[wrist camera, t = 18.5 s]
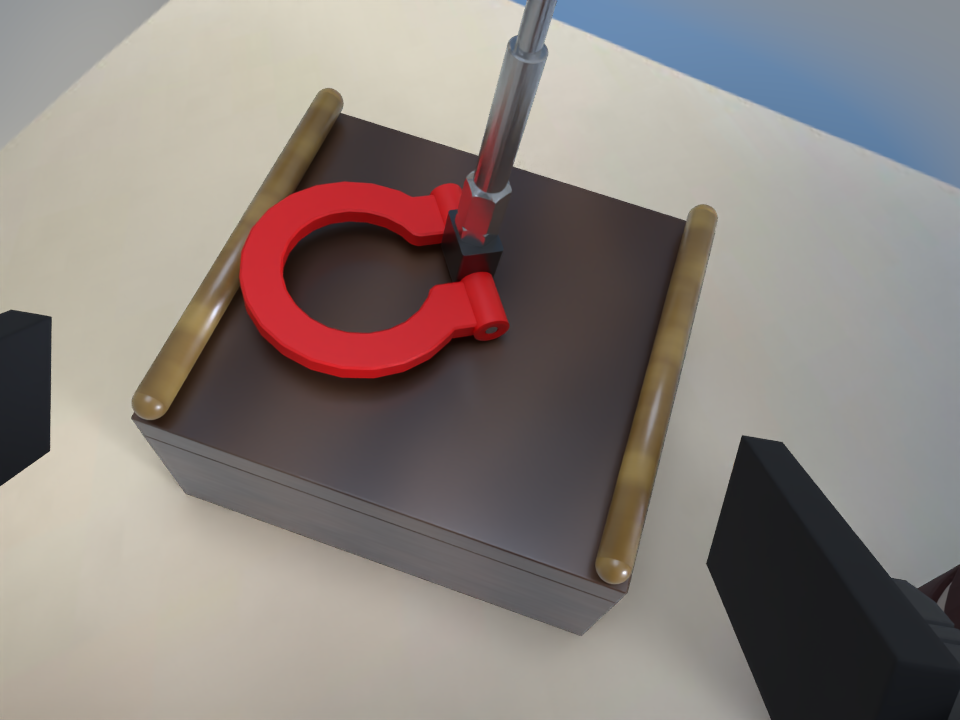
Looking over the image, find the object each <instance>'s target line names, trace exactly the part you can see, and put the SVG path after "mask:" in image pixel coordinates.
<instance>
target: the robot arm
mask: <svg viewBox="0 0 960 720" xmlns="http://www.w3.org/2000/svg"><path fill="white" fill-rule="evenodd" d="M51 326H52V317H51V316H45V315H39V314H33V313H27V312H21V311H16V310H9V311H7V312H4V313H1V314H0V486H1V485H3V484H4V483H6V482H7V481H8V480H10V479H11V478H13V477H14V476H15V475H17V474H18V473H20V472H21V471H22V470H24V469H25V468H27V467H28V466H29V465H31V464H32V463H34V462H35V461H36V460H38V459H39V458H41V457H42V456H44V455H45V454H46V453H48V452H49V451H50V410H51ZM706 564H707V566H708V568H709V571H710V573H711V576H712V578H713V581H714V583H715V585H716V588H717V590H718V593H719V595H720V597H721V600H722V602H723V605H724V607H725V609H726V612H727V614H728V617H729V619H730V621H731V624H732V626H733V629H734V631H735V634H736V636H737V638H738V641H739V643H740V646H741V648H742V650H743V653H744V655H745V658H746V660H747V662H748V665H749V667H750V670H751V672H752V675H753V677H754V679H755V682H756V684H757V687H758V689H759V691H760V694H761V696H762V699H763V701H764V703H765V706H766V708H767V711H768V713H769V715H770V718H771V720H960V630H959V629H956V628H954V625H955V624H954V623H953V622H952V621H951V620H950V618H949V617H948V616H947V615H946V614H945V613H944V611H943V610H942V609H941V608H940V607H939V606H938V604H937V603H936V602H935V601H933V600H932V599H931V598H929V597H928V596H926V595H925V594H924V593H922V592H921V591H920V590H918V589H917V588H915V587H914V586H913V585H911V584H910V583H908V582H907V581H906V580H901V579H895V578H891V577H890V576H889V575H888V573H887V572H886V571H885V570H884V568H883V567H882V566H881V565H880V563H879V562H878V561H877V560H876V558H875V557H874V556H873V555H872V553H871V552H870V551H869V550H868V548H867V547H866V546H865V545H864V543H863V542H862V541H861V540H860V538H859V537H858V536H857V535H856V533H855V532H854V531H853V530H852V528H851V527H850V526H849V525H848V523H847V522H846V521H845V520H844V519H843V517H842V516H841V515H840V514H839V512H838V511H837V510H836V509H835V507H834V506H833V505H832V504H831V502H830V501H829V500H828V499H827V497H826V496H825V495H824V494H823V492H822V491H821V490H820V489H819V487H818V486H817V485H816V484H815V482H814V481H813V480H812V479H811V477H810V476H809V475H808V474H807V472H806V471H805V470H804V469H803V467H802V466H801V465H800V464H799V462H798V461H797V460H796V459H795V457H794V456H793V455H792V454H791V452H790V451H789V450H788V449H787V447H786V446H785V445H784V444H783V442H779V441H773V440H767V439H761V438H755V437H749V436H744V435H742V437H741V441H740V444H739V448H738V452H737V455H736V459H735V462H734V466H733V470H732V473H731V477H730V480H729V484H728V488H727V491H726V495H725V498H724V502H723V505H722V509H721V513H720V516H719V520H718V523H717V527H716V531H715V534H714V538H713V541H712V545H711V549H710V552H709V556H708V559H707V563H706Z"/></svg>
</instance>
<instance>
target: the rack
mask: <svg viewBox="0 0 960 720" xmlns="http://www.w3.org/2000/svg"><path fill="white" fill-rule="evenodd" d="M342 109H343V99H342V96H341V95H340V93H339V92H338V91H336V90H334V89H332V88H325V89H322V90H321V91H319V92H318V94H317V95H316V97H315V98H314V100H313V102H312V103H311V105H310V107H309V108H308V110H307V111H306V113H305V115H304V116H303V118H302V120H301V121H300V123H299V125H298V126H297V128H296V129H295V131H294V133H293V134H292V136H291V138H290V139H289V141H288V143H287V144H286V146H285V147H284V149H283V151H282V152H281V154H280V156H279V157H278V159H277V161H276V162H275V164H274V166H273V167H272V169H271V170H270V172H269V174H268V175H267V177H266V179H265V180H264V182H263V184H262V185H261V187H260V188H259V190H258V192H257V193H256V195H255V197H254V198H253V200H252V202H251V203H250V205H249V206H248V208H247V210H246V211H245V213H244V215H243V216H242V218H241V220H240V221H239V223H238V225H237V226H236V228H235V229H234V231H233V233H232V234H231V236H230V238H229V239H228V241H227V243H226V244H225V246H224V247H223V249H222V251H221V252H220V254H219V256H218V257H217V259H216V261H215V262H214V264H213V266H212V267H211V269H210V270H209V272H208V274H207V275H206V277H205V279H204V280H203V282H202V284H201V285H200V287H199V288H198V290H197V292H196V293H195V295H194V297H193V298H192V300H191V302H190V303H189V305H188V306H187V308H186V310H185V311H184V313H183V315H182V316H181V318H180V320H179V321H178V323H177V325H176V326H175V328H174V329H173V331H172V333H171V334H170V336H169V338H168V339H167V341H166V343H165V344H164V346H163V347H162V349H161V351H160V352H159V354H158V356H157V357H156V359H155V361H154V362H153V364H152V365H151V367H150V369H149V370H148V372H147V374H146V375H145V377H144V379H143V380H142V382H141V384H140V385H139V387H138V388H137V390H136V392H135V393H134V395H133V398H132V408H133V410H134V414H133V415H132V417H131V419H132V420H133V422H134V423H135V424H136V426H137V427H138V429H139V430H140V431H141V433H142V434H143V436H144V437H145V438H146V440H147V441H148V443H149V444H150V445H151V447H152V448H153V449H154V451H155V452H156V454H157V455H158V456H159V458H160V459H161V460H162V462H163V463H164V465H165V466H166V467H167V469H168V470H169V472H170V473H171V474H172V476H173V477H174V478H175V480H176V481H177V483H178V484H179V485H180V487H181V488H182V489H183V491H184V492H185V493H186V494H189V495H192V496H194V497H197V498H200V499H203V500H206V501H208V502H211V503H214V504H217V505H219V506H222V507H225V508H228V509H231V510H233V511H236V512H239V513H242V514H244V515H247V516H250V517H253V518H256V519H258V520H261V521H264V522H267V523H269V524H272V525H275V526H278V527H281V528H283V529H286V530H289V531H292V532H294V533H297V534H300V535H303V536H305V537H308V538H311V539H314V540H317V541H319V542H322V543H325V544H328V545H330V546H333V547H336V548H339V549H342V550H344V551H347V552H350V553H353V554H355V555H358V556H361V557H364V558H367V559H369V560H372V561H375V562H378V563H380V564H383V565H386V566H389V567H392V568H394V569H397V570H400V571H403V572H405V573H408V574H411V575H414V576H417V577H419V578H422V579H425V580H428V581H430V582H433V583H436V584H439V585H442V586H444V587H447V588H450V589H453V590H455V591H458V592H461V593H464V594H466V595H469V596H472V597H475V598H478V599H480V600H483V601H486V602H489V603H491V604H494V605H497V606H500V607H503V608H505V609H508V610H511V611H514V612H516V613H519V614H522V615H525V616H528V617H530V618H533V619H536V620H539V621H541V622H544V623H547V624H550V625H553V626H555V627H558V628H561V629H564V630H566V631H569V632H572V633H575V634H578V635H580V636H582V635H583V634H584V633H585V632H586V631H587V630H588V629H589V628H590V627H591V626H593V625H594V624H595V623H596V622H597V621H598V620H599V619H600V618H601V617H602V616H603V615H604V614H606V613H607V612H608V611H609V610H610V609H611V608H612V607H613V606H614V605H615V604H616V603H617V602H618V601H619V600H621V599H622V598H623V597H624V596H625V595H626V594H627V593H628V589H629V585H630V580H631V576H632V572H633V568H634V564H635V560H636V556H637V552H638V548H639V543H640V539H641V535H642V531H643V527H644V523H645V519H646V515H647V511H648V506H649V502H650V498H651V494H652V490H653V486H654V482H655V478H656V474H657V469H658V465H659V461H660V457H661V453H662V449H663V445H664V441H665V437H666V432H667V428H668V424H669V420H670V416H671V412H672V408H673V404H674V399H675V395H676V391H677V387H678V383H679V379H680V375H681V371H682V367H683V362H684V358H685V354H686V350H687V346H688V342H689V338H690V334H691V330H692V325H693V321H694V317H695V313H696V309H697V305H698V301H699V297H700V293H701V288H702V284H703V280H704V276H705V272H706V268H707V264H708V260H709V256H710V251H711V247H712V243H713V239H714V235H715V229H716V225H717V219H718V217H717V213H716V211H715V210H714V209H713V208H712V207H711V206H709V205H705V204H701V205H697V206H695V207H694V208H692V209H691V211H690V212H689V214H688V217H687V220H686V221H685V220H682V219H678V218H675V217H672V216H669V215H666V214H662V213H659V212H656V211H653V210H650V209H646V208H643V207H640V206H637V205H634V204H630V203H627V202H624V201H621V200H618V199H614V198H611V197H608V196H605V195H602V194H598V193H595V192H592V191H589V190H586V189H582V188H579V187H576V186H573V185H570V184H566V183H563V182H560V181H557V180H554V179H550V178H547V177H544V176H541V175H538V174H534V173H531V172H528V171H525V170H522V169H518V168H515V167H512V170H511V174H510V177H509V183H510V185H511V189H512V193H511V197H510V200H509V203H508V206H507V209H506V212H505V215H504V218H503V221H502V223H501V227H500V230H499V234H498V235H499V237H500V240H501V243H502V246H503V252H502V255H501V258H500V261H499V264H498V267H497V270H496V273H495V275H494V278H493V280H494V283H495V286H496V288H497V291H498V294H499V297H500V300H501V303H502V305H503V308H504V311H505V314H506V317H507V320H508V322H509V325H510V327H509V329H508V331H507V332H506V333H505V334H503V335H502V336H500V337H498V338H495V339H492V340H488V341H480V340H477V339H475V338H474V335H470V336H464V337H458V338H452V339H451V341H450V342H449V343H448V344H446V345H445V346H444V347H443V348H442V349H441V350H440V351H439V352H437V353H436V354H435V355H434V356H433V357H432V358H431V359H429V360H427V361H425V362H423V363H421V364H419V365H417V366H415V367H413V368H411V369H409V370H407V371H405V372H401V373H397V374H392V375H387V376H382V377H378V378H341V377H337V376H334V375H330V374H326V373H322V372H318V371H314V370H310V369H309V368H307V367H305V366H303V365H301V364H299V363H297V362H295V361H293V360H292V359H290V358H288V357H286V356H284V355H282V354H281V353H280V352H279V351H278V350H277V349H276V348H275V347H274V346H273V345H271V344H270V343H269V342H268V341H267V340H266V339H265V338H264V337H263V336H262V335H261V334H260V332H259V331H258V329H257V328H256V326H255V324H254V323H253V321H252V319H251V318H250V316H249V315H248V313H247V311H246V307H245V303H244V299H243V295H242V291H241V287H240V279H239V273H240V261H241V251H242V249H243V246H244V244H245V242H246V240H247V237H248V235H249V233H250V231H251V228H252V227H253V226H254V225H255V224H256V223H257V221H258V220H259V219H260V218H261V217H262V216H263V215H264V213H265V212H266V211H267V210H268V209H269V208H271V207H272V206H274V205H275V204H277V203H278V202H280V201H281V200H283V199H284V198H286V197H287V196H289V195H290V194H293V193H296V192H299V191H301V190H304V189H307V188H310V187H313V186H315V185H321V184H329V183H336V182H344V181H345V182H359V183H373V184H377V185H380V186H384V187H388V188H391V189H395V190H399V191H401V192H403V193H405V194H407V195H409V196H411V197H418V196H428V195H430V193H431V192H432V191H433V190H434V189H435V188H436V187H438V186H440V185H443V184H447V183H453V184H457V185H459V186H460V187H461V189H463V185H464V181H465V178H466V177H467V176H468V174H470V173H471V172H473V171H474V170H475V167H476V163H477V160H478V156H477V155H474V154H470V153H467V152H464V151H461V150H458V149H454V148H451V147H448V146H445V145H442V144H438V143H435V142H432V141H429V140H426V139H422V138H419V137H416V136H413V135H410V134H406V133H403V132H400V131H397V130H394V129H390V128H387V127H384V126H381V125H378V124H374V123H371V122H368V121H365V120H362V119H358V118H355V117H352V116H349V115H346V114H342V113H341V111H342ZM283 278H284V282H285V285H286V289H287V291H288V293H289V294H290V296H291V297H292V299H293V300H294V302H295V304H296V305H297V306H298V307H299V308H300V309H301V310H303V311H304V312H305V313H306V314H307V315H308V316H309V317H310V318H312V319H314V320H316V321H318V322H320V323H322V324H323V325H325V326H327V327H330V328H334V329H338V330H341V331H345V332H353V333H372V332H377V331H382V330H387V329H390V328H392V327H394V326H397V325H399V324H401V323H403V322H405V321H407V320H408V319H409V318H410V317H411V316H413V315H414V314H415V313H416V312H417V311H419V309H420V308H421V306H422V305H423V303H424V302H425V300H426V299H427V297H428V295H429V291H430V289H431V288H432V287H434V286H435V285H439V284H447V283H453V282H452V279H451V276H450V272H449V269H448V266H447V263H446V260H445V257H444V254H443V251H442V248H441V243H440V244H432V245H423V246H416V245H412V244H410V243H409V242H408V241H407V240H405V239H404V238H403V237H402V236H401V235H399V234H397V233H395V232H393V231H391V230H389V229H387V228H385V227H381V226H378V225H374V224H370V223H366V222H350V221H348V222H341V223H334V224H329V225H327V226H324V227H322V228H319V229H316V230H314V231H312V232H311V233H309V234H308V235H307V236H305V237H304V238H302V239H301V240H300V241H299V242H298V243H297V244H296V246H295V247H294V248H293V249H292V250H291V252H290V253H289V255H288V258H287V260H286V263H285V265H284V270H283Z"/></svg>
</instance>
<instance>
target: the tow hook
mask: <svg viewBox="0 0 960 720" xmlns="http://www.w3.org/2000/svg"><path fill="white" fill-rule="evenodd" d="M556 2H557V0H527V2H526V6H525V10H524V13H523V17H522V21H521V25H520V28H519V32H518V35H517V36H514V37H512V38H511V39H510V40H509V42H508V45H507V48H506V52H505V56H504V60H503V64H502V68H501V71H500V75H499V79H498V83H497V87H496V91H495V94H494V98H493V102H492V106H491V110H490V114H489V117H488V121H487V125H486V129H485V133H484V137H483V140H482V144H481V148H480V152H479V156H478V160H477V163H476V167H475V170H474V171H473V172H471V173H470V174H468V176H467V177H466V178H465V181H464V185H463V189H461V187H460V186H459V185H457V184H453V183H447V184H443V185H440V186H438V187H436V188H435V189H434V190H433V191H432V192H431V193H430V195H428V196H418V197H411V196H409V195H407V194H405V193H403V192H401V191H399V190H395V189H391V188H388V187H384V186H380V185H377V184H373V183H359V182H345V181H344V182H336V183H329V184H321V185H315V186H313V187H310V188H307V189H304V190H301V191H299V192H296V193H293V194H290V195H289V196H287V197H286V198H284V199H283V200H281V201H280V202H278V203H277V204H275V205H274V206H272V207H271V208H269V209H268V210H267V211H266V212H265V213H264V215H263V216H262V217H261V218H260V219H259V220H258V221H257V223H256V224H255V225H254V226H253V227H252V228H251V231H250V233H249V235H248V237H247V240H246V242H245V244H244V246H243V249H242V251H241V261H240V273H239V279H240V287H241V291H242V295H243V299H244V303H245V307H246V311H247V313H248V315H249V316H250V318H251V319H252V321H253V323H254V324H255V326H256V328H257V329H258V331H259V332H260V334H261V335H262V336H263V337H264V338H265V339H266V340H267V341H268V342H269V343H270V344H271V345H273V346H274V347H275V348H276V349H277V350H278V351H279V352H280V353H281V354H282V355H284V356H286V357H288V358H290V359H292V360H293V361H295V362H297V363H299V364H301V365H303V366H305V367H307V368H309V369H310V370H314V371H318V372H322V373H326V374H330V375H334V376H337V377H341V378H378V377H382V376H387V375H392V374H397V373H401V372H405V371H407V370H409V369H411V368H413V367H415V366H417V365H419V364H421V363H423V362H425V361H427V360H429V359H431V358H432V357H433V356H434V355H435V354H436V353H437V352H439V351H440V350H441V349H442V348H443V347H444V346H445V345H446V344H448V343H449V342H450V341H451V339H452V338H458V337H464V336H470V335H474V338H475V339H477V340H480V341H488V340H492V339H495V338H498V337H500V336H502V335H503V334H505V333H506V332H507V331H508V329H509V327H510V325H509V322H508V320H507V317H506V314H505V311H504V308H503V305H502V303H501V300H500V297H499V294H498V291H497V288H496V286H495V283H494V280H493V278H494V275H495V273H496V270H497V267H498V264H499V261H500V258H501V255H502V252H503V246H502V243H501V240H500V237H499V235H498V234H499V230H500V227H501V223H502V221H503V218H504V215H505V212H506V209H507V206H508V203H509V200H510V197H511V193H512V189H511V185H510V183H509V177H510V174H511V170H512V167H513V164H514V161H515V158H516V155H517V152H518V148H519V145H520V142H521V139H522V136H523V133H524V129H525V126H526V123H527V120H528V117H529V114H530V110H531V107H532V104H533V101H534V98H535V95H536V91H537V88H538V85H539V82H540V79H541V76H542V73H543V69H544V66H545V63H546V60H547V57H548V49H547V47H546V45H545V44H544V42H545V38H546V35H547V32H548V29H549V25H550V22H551V19H552V16H553V12H554V9H555V6H556ZM348 221H350V222H366V223H370V224H374V225H378V226H381V227H385V228H387V229H389V230H391V231H393V232H395V233H397V234H399V235H401V236H402V237H403V238H404V239H405V240H407V241H408V242H409V243H410V244H412V245H416V246H423V245H432V244H440V243H441V248H442V251H443V254H444V257H445V260H446V263H447V266H448V269H449V272H450V276H451V279H452V282H453V283H447V284H439V285H435V286H434V287H432V288H431V289H430V291H429V295H428V297H427V299H426V300H425V302H424V303H423V305H422V306H421V308H420V309H419V311H417V312H416V313H415V314H414V315H413V316H411V317H410V318H409V319H408V320H407V321H405V322H403V323H401V324H399V325H397V326H394V327H392V328H390V329H387V330H382V331H377V332H372V333H353V332H345V331H341V330H338V329H334V328H330V327H327V326H325V325H323V324H322V323H320V322H318V321H316V320H314V319H312V318H310V317H309V316H308V315H307V314H306V313H305V312H304V311H303V310H301V309H300V308H299V307H298V306H297V305H296V304H295V302H294V300H293V299H292V297H291V296H290V294H289V293H288V291H287V289H286V285H285V282H284V278H283V270H284V265H285V263H286V260H287V258H288V255H289V253H290V252H291V250H292V249H293V248H294V247H295V246H296V244H297V243H298V242H299V241H300V240H301V239H302V238H304V237H305V236H307V235H308V234H309V233H311V232H312V231H314V230H316V229H319V228H322V227H324V226H327V225H329V224H334V223H341V222H348Z"/></svg>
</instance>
